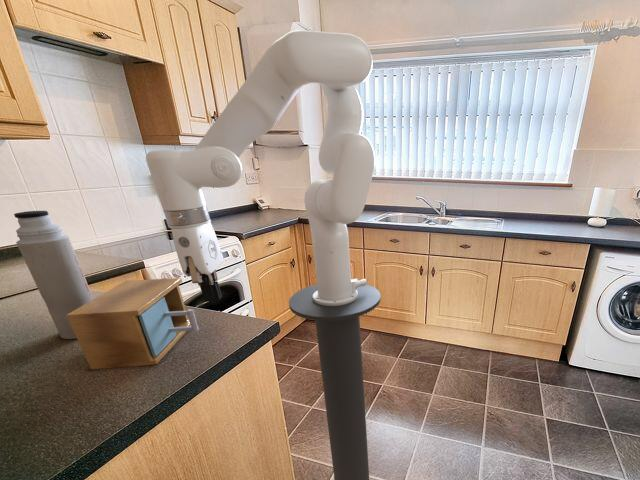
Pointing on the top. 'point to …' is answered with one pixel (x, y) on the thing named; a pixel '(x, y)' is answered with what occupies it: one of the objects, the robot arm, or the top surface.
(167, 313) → the blue door
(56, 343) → the top surface
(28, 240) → the thermos bottle
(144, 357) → the cabinet
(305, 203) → the robot arm
